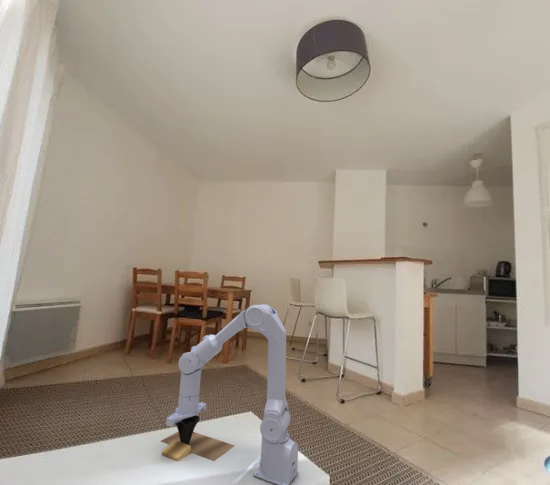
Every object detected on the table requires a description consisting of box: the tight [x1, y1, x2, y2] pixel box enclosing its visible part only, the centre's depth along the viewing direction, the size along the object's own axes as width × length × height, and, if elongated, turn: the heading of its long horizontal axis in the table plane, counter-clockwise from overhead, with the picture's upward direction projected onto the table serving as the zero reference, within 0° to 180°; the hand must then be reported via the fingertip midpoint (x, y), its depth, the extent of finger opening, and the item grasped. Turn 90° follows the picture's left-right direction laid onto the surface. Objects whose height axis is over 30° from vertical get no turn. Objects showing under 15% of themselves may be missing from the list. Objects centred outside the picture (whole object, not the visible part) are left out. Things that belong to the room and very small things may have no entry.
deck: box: [160, 431, 236, 462], centre depth 92 cm, size 20×10×2 cm, turn 63°
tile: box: [161, 440, 192, 462], centre depth 86 cm, size 6×5×2 cm
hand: (184, 444), depth 89 cm, fingers closed
